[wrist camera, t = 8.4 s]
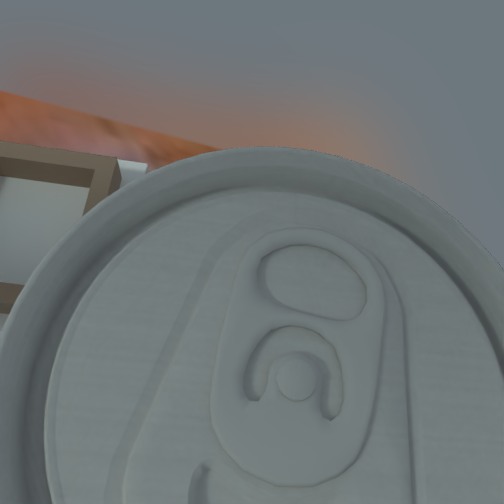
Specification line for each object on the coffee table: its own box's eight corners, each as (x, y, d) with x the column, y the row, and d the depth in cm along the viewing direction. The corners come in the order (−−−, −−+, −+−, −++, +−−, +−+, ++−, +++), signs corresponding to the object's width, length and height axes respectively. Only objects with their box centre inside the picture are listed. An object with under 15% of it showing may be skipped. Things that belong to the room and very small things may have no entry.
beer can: (109, 505, 16) (-289, 780, 3) (160, 342, 19) (90, 59, 5) (272, 544, 16) (676, 994, 3) (301, 377, 19) (589, 193, 5)
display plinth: (-97, 340, 30) (-165, 311, 24) (-25, 168, 36) (-67, 112, 30) (115, 362, 31) (98, 340, 26) (151, 192, 37) (144, 142, 32)
